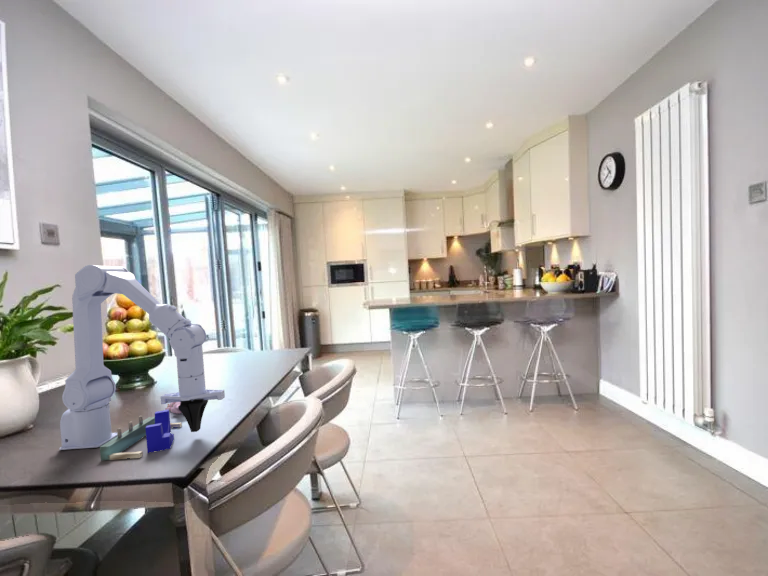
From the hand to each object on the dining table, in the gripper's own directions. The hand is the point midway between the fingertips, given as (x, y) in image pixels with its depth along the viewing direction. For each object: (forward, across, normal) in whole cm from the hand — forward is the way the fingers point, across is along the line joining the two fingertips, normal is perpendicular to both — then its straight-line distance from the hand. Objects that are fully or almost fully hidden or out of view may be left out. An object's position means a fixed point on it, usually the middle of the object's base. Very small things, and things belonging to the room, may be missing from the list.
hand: (195, 430), depth 93 cm
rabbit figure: (+2, -14, +20) cm, 25 cm away
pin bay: (+2, -12, 0) cm, 12 cm away
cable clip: (+2, -8, 0) cm, 8 cm away
